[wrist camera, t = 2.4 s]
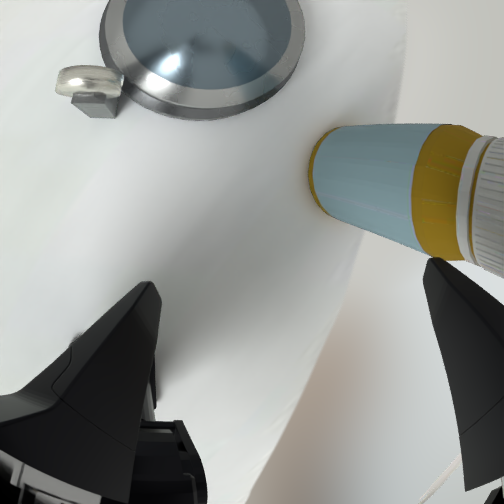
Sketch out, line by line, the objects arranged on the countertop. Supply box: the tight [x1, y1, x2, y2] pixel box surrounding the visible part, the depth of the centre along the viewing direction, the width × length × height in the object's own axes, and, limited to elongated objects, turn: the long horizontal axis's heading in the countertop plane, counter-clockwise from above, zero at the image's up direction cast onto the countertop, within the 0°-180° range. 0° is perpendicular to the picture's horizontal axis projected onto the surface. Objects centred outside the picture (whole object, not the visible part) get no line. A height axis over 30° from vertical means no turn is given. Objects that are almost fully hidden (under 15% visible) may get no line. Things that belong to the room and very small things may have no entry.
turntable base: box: [55, 0, 298, 121], centre depth 12 cm, size 13×13×7 cm
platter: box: [105, 0, 305, 110], centre depth 13 cm, size 12×12×1 cm
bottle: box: [308, 124, 504, 278], centre depth 15 cm, size 7×7×15 cm
